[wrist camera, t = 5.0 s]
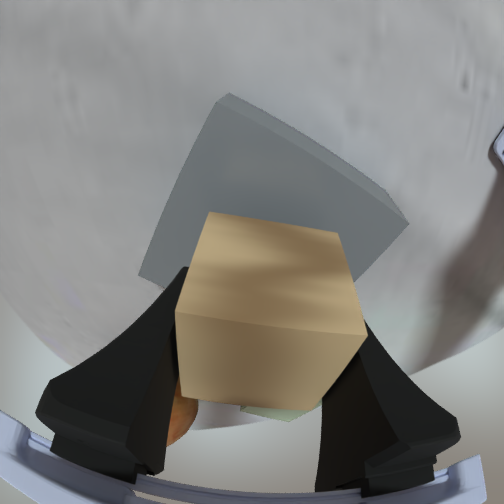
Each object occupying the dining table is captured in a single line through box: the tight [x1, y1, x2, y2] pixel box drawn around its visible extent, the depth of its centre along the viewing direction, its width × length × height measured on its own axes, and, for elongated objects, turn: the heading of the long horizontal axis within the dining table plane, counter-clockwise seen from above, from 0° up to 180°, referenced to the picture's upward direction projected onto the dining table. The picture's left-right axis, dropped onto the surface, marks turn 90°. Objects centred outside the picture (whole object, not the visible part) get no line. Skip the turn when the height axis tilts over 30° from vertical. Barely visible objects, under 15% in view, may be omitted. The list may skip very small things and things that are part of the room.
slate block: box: [138, 93, 409, 288], centre depth 15 cm, size 10×10×4 cm
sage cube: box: [240, 398, 322, 422], centre depth 24 cm, size 5×5×5 cm
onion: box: [166, 374, 198, 447], centre depth 23 cm, size 10×10×10 cm
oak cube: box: [175, 212, 368, 411], centre depth 11 cm, size 5×5×5 cm
